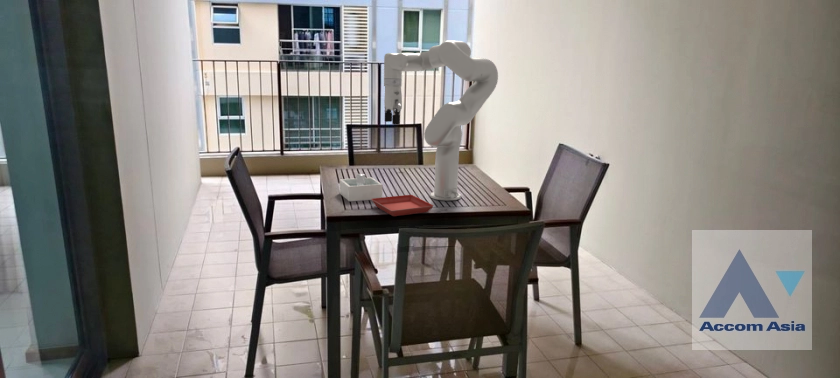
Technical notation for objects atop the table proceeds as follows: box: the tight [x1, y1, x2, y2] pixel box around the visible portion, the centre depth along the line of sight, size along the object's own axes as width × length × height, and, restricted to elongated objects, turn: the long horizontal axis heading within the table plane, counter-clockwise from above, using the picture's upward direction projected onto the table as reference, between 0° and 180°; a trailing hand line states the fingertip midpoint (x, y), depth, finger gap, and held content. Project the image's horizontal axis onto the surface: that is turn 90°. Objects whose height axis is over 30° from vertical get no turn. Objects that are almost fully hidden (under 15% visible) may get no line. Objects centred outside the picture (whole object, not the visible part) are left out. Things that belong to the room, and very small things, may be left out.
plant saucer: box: [370, 194, 434, 217], centre depth 217 cm, size 18×18×3 cm
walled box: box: [339, 176, 383, 202], centre depth 235 cm, size 14×14×6 cm
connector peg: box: [355, 173, 366, 186], centre depth 235 cm, size 4×4×8 cm
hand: (392, 122), depth 248 cm, fingers open, 9 cm apart
